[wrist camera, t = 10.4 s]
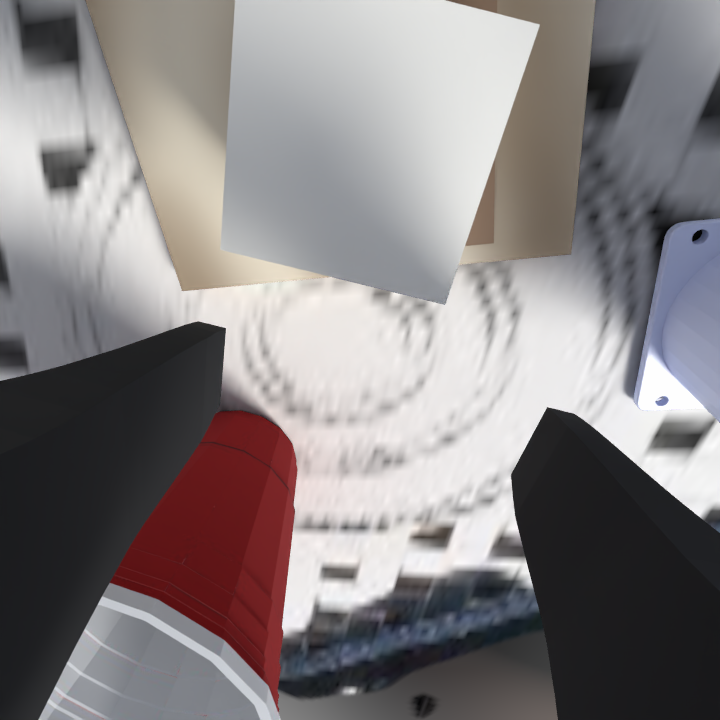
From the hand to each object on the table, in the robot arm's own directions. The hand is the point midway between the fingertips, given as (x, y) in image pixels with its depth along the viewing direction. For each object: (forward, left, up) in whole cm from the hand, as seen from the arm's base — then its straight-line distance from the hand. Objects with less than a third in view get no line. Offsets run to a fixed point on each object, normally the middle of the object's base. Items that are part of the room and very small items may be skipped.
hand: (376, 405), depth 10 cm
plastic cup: (+9, +9, -10) cm, 16 cm away
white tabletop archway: (0, -5, -8) cm, 10 cm away
